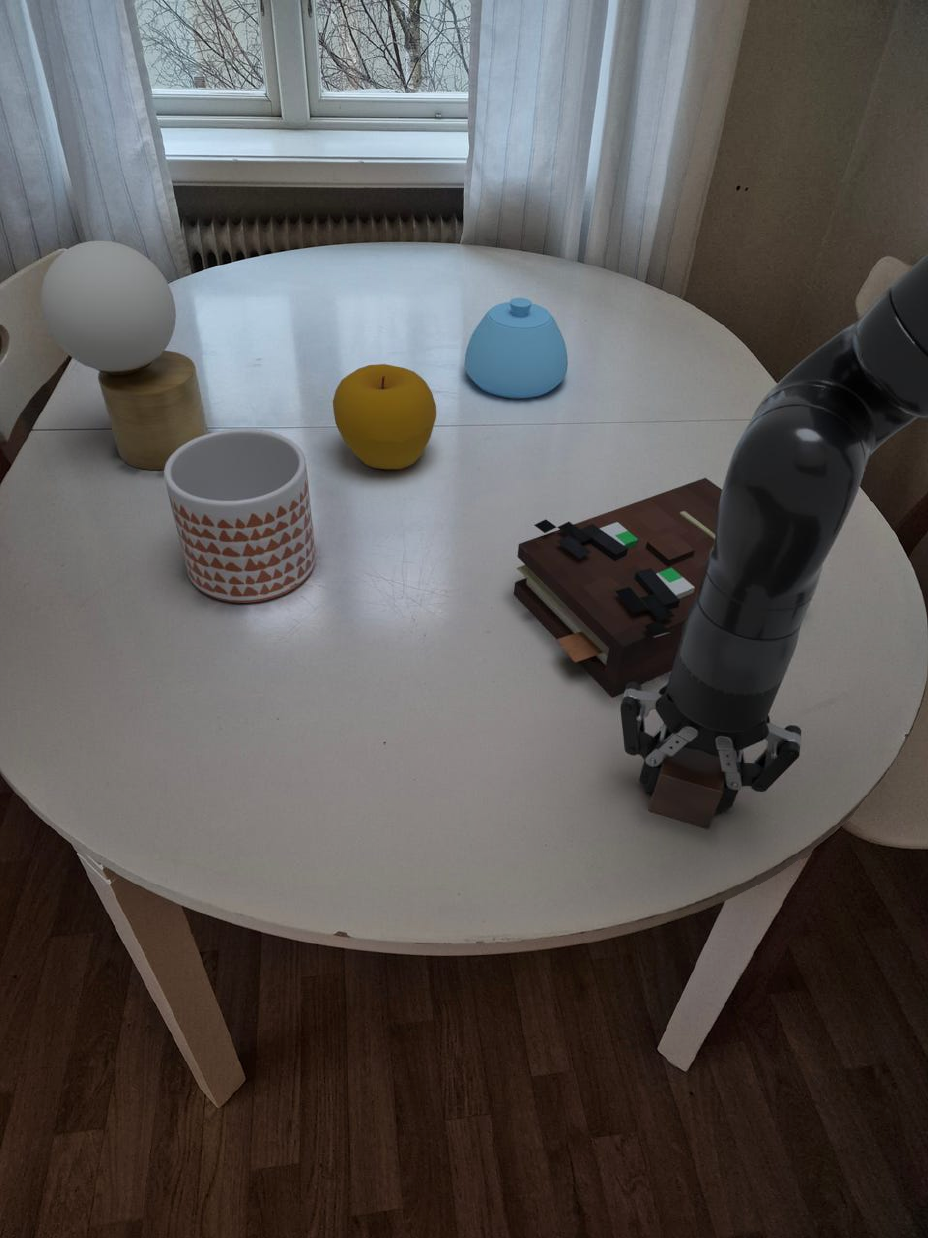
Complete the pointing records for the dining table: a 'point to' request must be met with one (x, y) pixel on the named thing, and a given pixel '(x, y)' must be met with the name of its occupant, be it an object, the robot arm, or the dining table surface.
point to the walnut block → (689, 787)
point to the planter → (242, 513)
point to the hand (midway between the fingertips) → (684, 793)
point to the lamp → (126, 346)
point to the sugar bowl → (517, 351)
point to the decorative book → (622, 582)
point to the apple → (385, 415)
